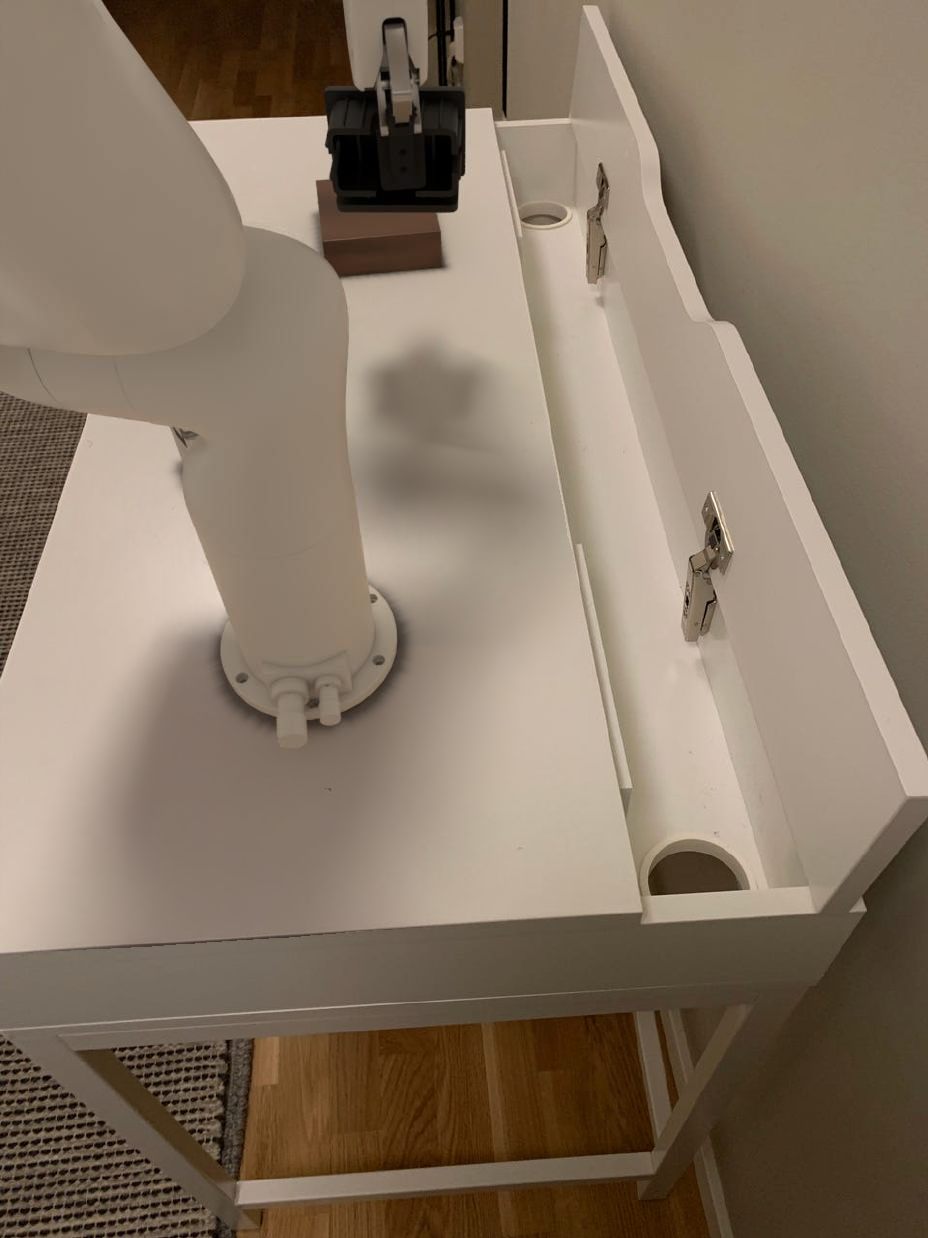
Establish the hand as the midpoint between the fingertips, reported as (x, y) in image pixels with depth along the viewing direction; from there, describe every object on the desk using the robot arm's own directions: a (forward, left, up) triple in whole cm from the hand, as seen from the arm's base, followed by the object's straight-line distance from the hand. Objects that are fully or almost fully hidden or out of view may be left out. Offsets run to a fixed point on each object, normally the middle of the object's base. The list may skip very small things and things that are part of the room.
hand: (397, 155), depth 65 cm
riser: (+23, +1, -20) cm, 31 cm away
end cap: (0, 0, -3) cm, 3 cm away
